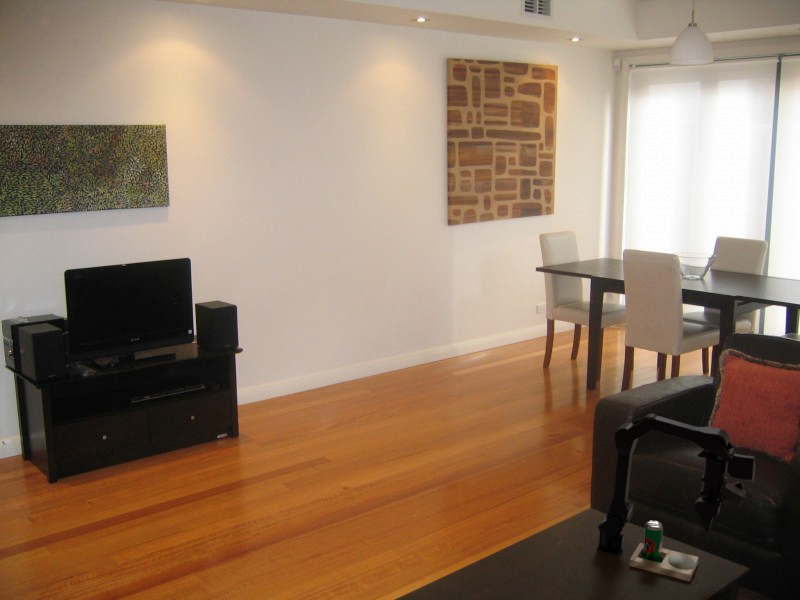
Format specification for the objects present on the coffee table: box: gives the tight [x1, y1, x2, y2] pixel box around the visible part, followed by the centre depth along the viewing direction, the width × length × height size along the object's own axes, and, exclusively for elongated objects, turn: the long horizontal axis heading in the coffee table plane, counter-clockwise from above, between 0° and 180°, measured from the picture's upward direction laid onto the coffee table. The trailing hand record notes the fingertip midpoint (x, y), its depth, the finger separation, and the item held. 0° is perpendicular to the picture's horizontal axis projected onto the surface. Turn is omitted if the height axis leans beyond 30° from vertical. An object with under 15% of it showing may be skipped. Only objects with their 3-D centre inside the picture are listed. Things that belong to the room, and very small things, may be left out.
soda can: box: [642, 520, 664, 563], centre depth 238 cm, size 5×5×12 cm
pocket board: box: [629, 542, 699, 582], centre depth 237 cm, size 17×12×2 cm
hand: (710, 524), depth 231 cm, fingers open, 9 cm apart
